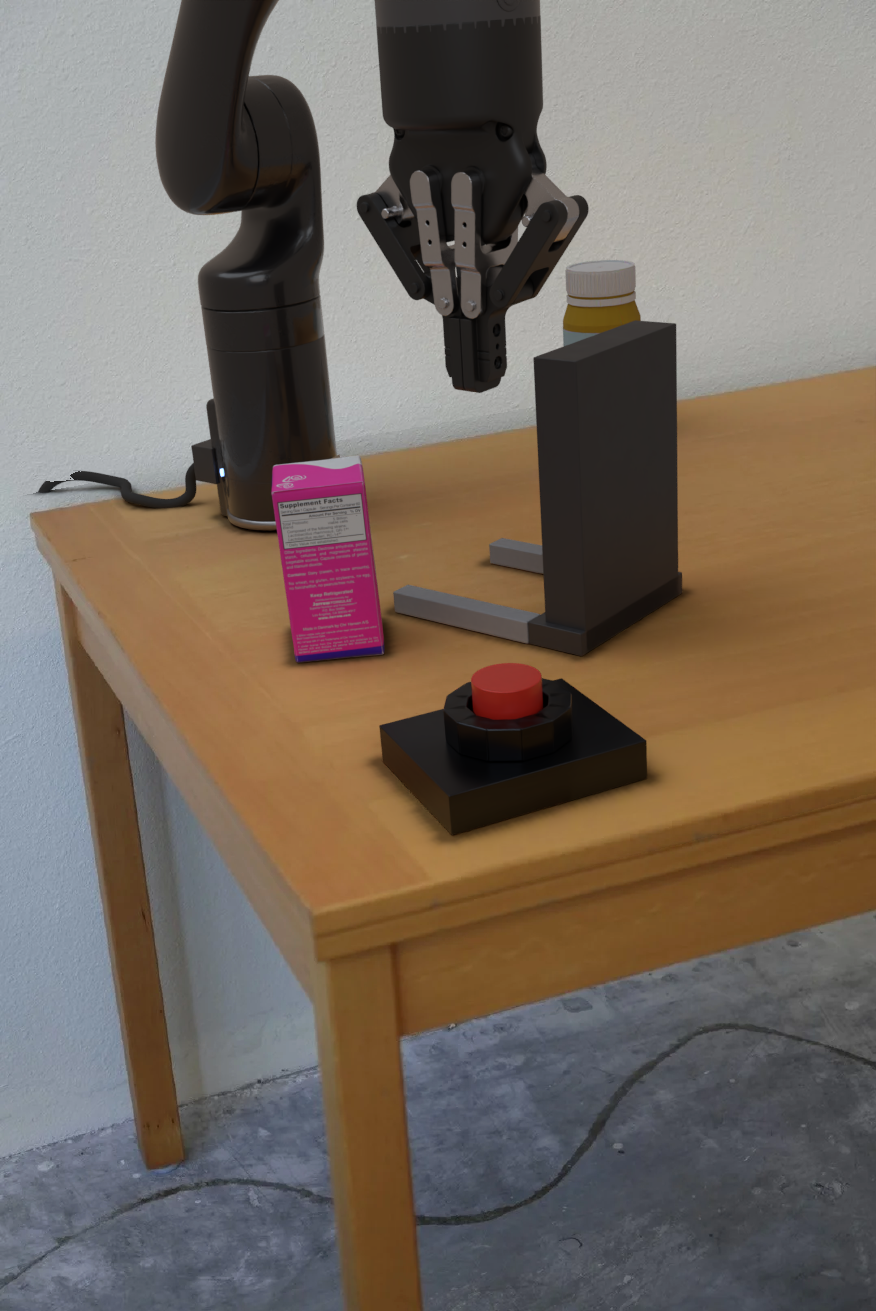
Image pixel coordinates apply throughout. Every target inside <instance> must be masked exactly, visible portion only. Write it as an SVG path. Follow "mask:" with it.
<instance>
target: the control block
mask: <svg viewBox="0 0 876 1311" xmlns="http://www.w3.org/2000/svg"><path fill="white" fill-rule="evenodd" d="M542 694H543V708H542V710H540V711H539V712H538V713H536V714H533V715H529V716H525V717H522V718H518V719H502V720H493V719H489V718H485V717H481V716H477V715H476V714H475V713H474V711H473V701H472V687H471V681H468V682H466V683H464V684H462V685H460V686H459V687H458V688H456V689H454V690H453V691H451V692H450V693H449V694H447V695H446V697H445V701H444V704H443V705H444V706H443V708H441V709H437V710H433V711H429V712H425V713H422V714H418V715H413V716H410V717H406V718H402V719H399V720H394V721H390V722H387V723H383V724H380V725H379V738H380V747H381V757H382V762H383V763H384V765H385V766H387V768H388V769H389V770H390V771H391V772H392V773H393V774H394V775H395V776H396V778H398V780H399V781H400V782H401V783H402V784H403V785H404V786H405V787H406V788H407V789H408V790H409V791H410V792H411V794H412V795H413V796H414V797H415V798H416V799H417V800H418V801H419V802H420V803H421V804H422V805H423V806H424V808H426V810H427V811H428V812H430V814H432V815H433V817H434V818H435V819H436V820H437V821H438V822H439V823H440V824H441V826H443V828H444V829H445V830H446V831H448V833H449V834H450V835H451V836H454V835H458V834H462V833H465V832H468V831H472V830H475V829H479V828H482V827H485V826H488V825H492V824H496V823H499V822H502V821H506V820H509V819H513V818H516V817H519V816H523V815H527V814H531V813H533V812H536V811H540V810H545V809H547V808H551V807H553V806H558V805H561V804H564V803H568V802H571V801H574V800H577V799H581V798H584V797H588V796H592V795H595V794H599V793H601V792H605V791H609V790H612V789H615V788H619V787H622V786H626V785H629V784H633V783H635V782H639V781H643V780H647V779H648V758H647V757H648V753H647V751H648V750H647V749H648V747H647V746H648V745H647V739H646V738H644V737H643V736H641V735H640V734H638V733H637V732H635V730H633V729H631V728H630V727H629V726H628V725H626V724H625V723H624V722H622V721H621V720H619V719H618V718H617V717H615V715H613V714H611V713H610V712H609V711H607V710H605V709H604V708H603V707H601V706H600V705H599V704H597V703H596V702H595V701H594V700H592V698H589V697H588V696H587V695H586V694H584V693H582V692H581V691H580V690H579V689H578V688H576V687H575V686H573V685H572V684H570V683H569V682H568V681H566V680H565V679H564V678H562V677H560V678H557V679H554V680H553V679H549V678H544V677H542Z"/></svg>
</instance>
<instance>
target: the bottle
mask: <svg viewBox="0 0 876 1311" xmlns="http://www.w3.org/2000/svg"><path fill="white" fill-rule="evenodd" d="M636 272H637V270H636V264H635V262H633V261H630V260H623V259H599V260H597V259H596V260H588V261H581V262H576V263H575V262H574V263H572V264H569V265H567V266H566V267H565V273H564V274H565V291H566V303H567V305H566V307H565V308H566V309H565V312H564V315H563V319H562V343H563V344H562V345H563V347H564V346H566V345H569V344H572V343H575V342H577V341H580V340H583V339H586V338H588V337H591V336H594V335H597V334H599V333H602V332H605V331H608V330H610V329H613V328H616V327H619V326H621V325H624V324H627V323H630V322H632V321H635V320H636V321H642V318H641V317H642V316H641V313H640V310H639V307H638V305H637V302H636V299H637V298H636V297H637V293H636V292H637V291H636V287H637V286H636V285H637V279H636Z"/></svg>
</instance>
